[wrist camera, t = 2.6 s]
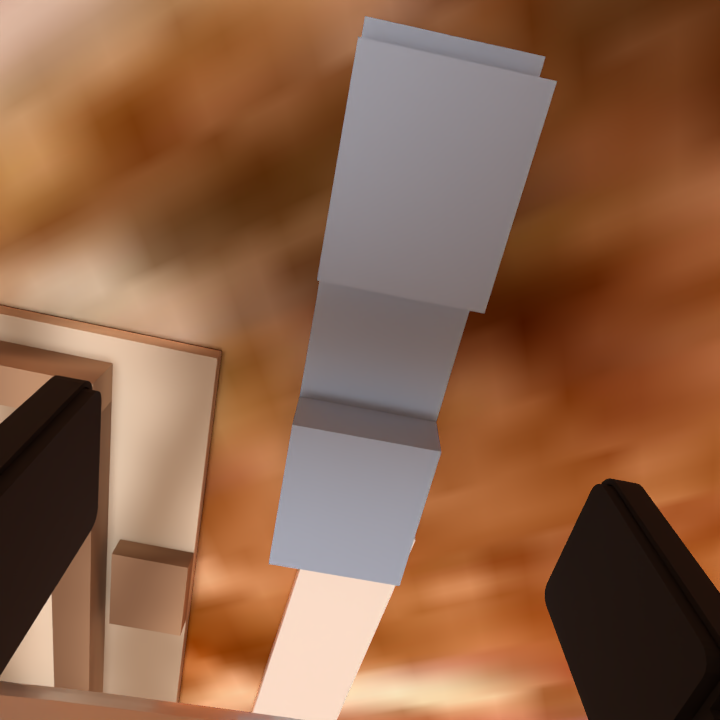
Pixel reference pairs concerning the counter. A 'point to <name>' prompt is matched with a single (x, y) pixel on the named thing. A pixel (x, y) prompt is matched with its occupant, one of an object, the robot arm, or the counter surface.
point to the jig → (120, 504)
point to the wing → (320, 645)
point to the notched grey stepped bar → (401, 285)
